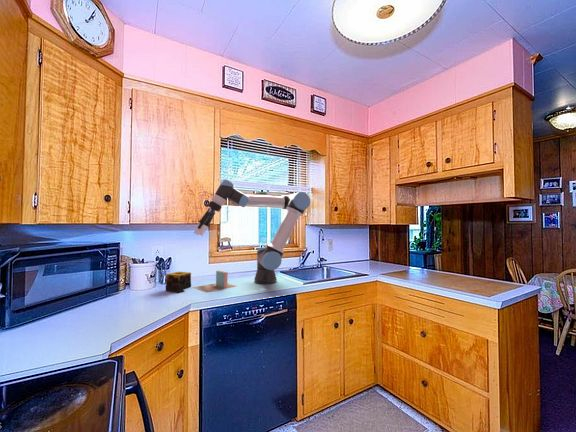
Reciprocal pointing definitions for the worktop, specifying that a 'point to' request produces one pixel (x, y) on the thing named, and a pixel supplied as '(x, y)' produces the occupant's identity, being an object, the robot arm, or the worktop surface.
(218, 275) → the tile
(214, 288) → the board
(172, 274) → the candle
